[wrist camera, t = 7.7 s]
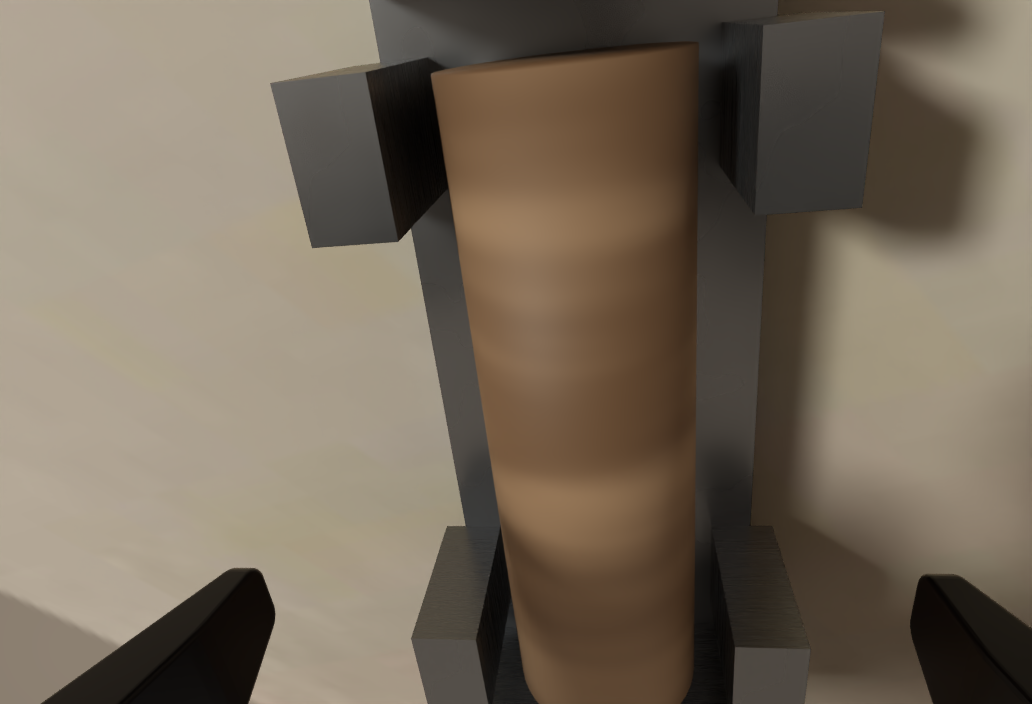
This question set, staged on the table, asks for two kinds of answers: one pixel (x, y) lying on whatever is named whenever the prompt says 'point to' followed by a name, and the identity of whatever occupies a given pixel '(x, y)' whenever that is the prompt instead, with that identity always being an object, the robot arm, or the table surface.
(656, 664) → the cylinder
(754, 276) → the cradle
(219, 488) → the table surface
